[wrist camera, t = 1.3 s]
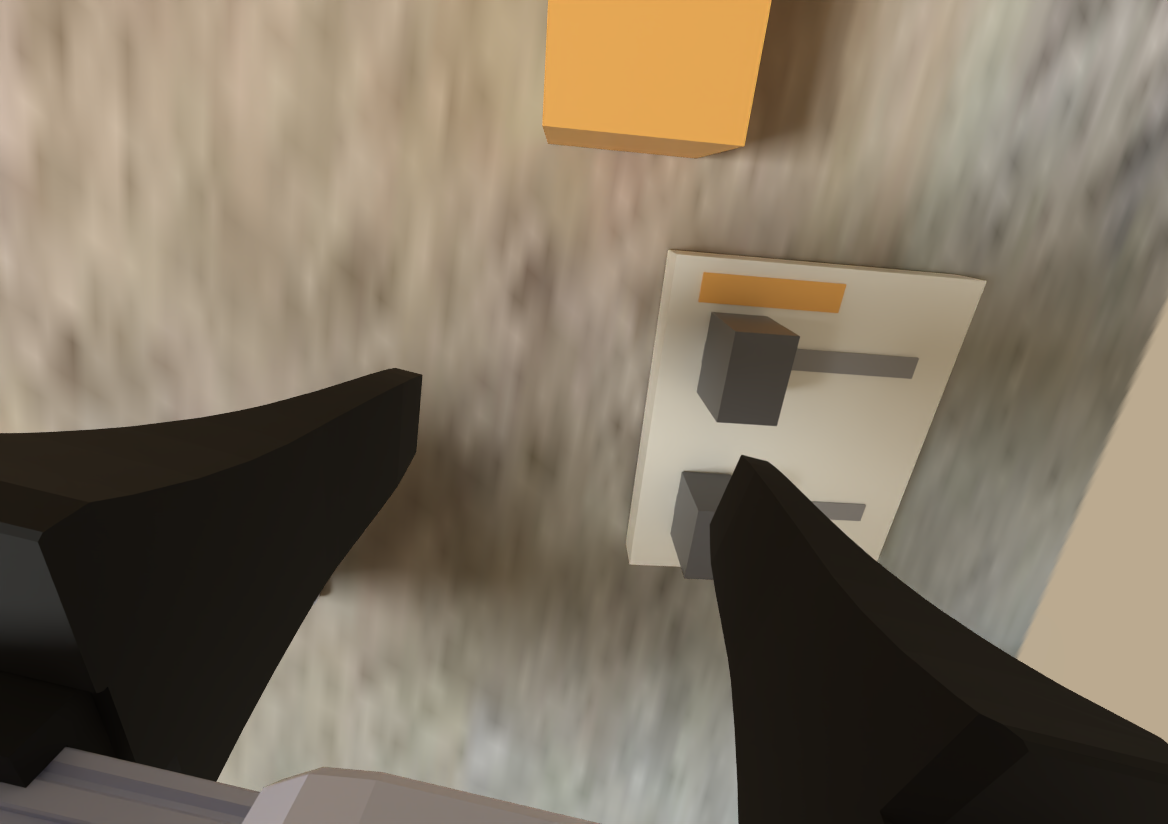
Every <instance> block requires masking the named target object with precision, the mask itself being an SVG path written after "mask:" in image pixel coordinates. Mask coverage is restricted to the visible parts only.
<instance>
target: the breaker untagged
mask: <svg viewBox="0 0 1168 824" xmlns="http://www.w3.org/2000/svg"><path fill="white" fill-rule="evenodd" d="M731 476H732V475H731V474H715V473H697V472H682V473H681V479H680V484H679V489H678V495H677V500H676V506H675V511H674V516H673V522H672V527H671V533H670V534H671V537H672V541H673V544H674V547H675V550H676V553H677V557H678V560H679V563H680V566H681V569H682V573H683V576H684V578H687V579H711V580H713V574H712V568H711V557H710V523H711V520H712V518H713V516H714V514H715V512H716V509H717V507H718V505H719V503H720V501H721V498H722V496H723V494H724V492H725V489H726V487H727V485H728V483H729V481H730V478H731Z"/></svg>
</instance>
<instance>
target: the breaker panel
mask: <svg viewBox="0 0 1168 824" xmlns="http://www.w3.org/2000/svg"><path fill="white" fill-rule="evenodd" d="M986 282H987V281H985V280H980V279H975V278H971V277H966V276H961V275H956V274H945V273H933V272H922V271H910V270H899V269H887V268H876V267H864V266H853V265H841V264H830V263H818V262H807V261H795V260H783V259H772V258H760V257H749V256H737V255H726V254H714V253H703V252H691V251H680V250H668V254H667V261H666V268H665V275H664V282H663V289H662V295H661V302H660V309H659V316H658V323H657V330H656V337H655V344H654V351H653V358H652V365H651V371H650V378H649V385H648V392H647V399H646V406H645V413H644V420H643V427H642V434H641V441H640V447H639V454H638V461H637V468H636V475H635V482H634V489H633V496H632V503H631V510H630V517H629V523H628V530H627V537H626V547H627V553H628V558H629V564H630V565H653V566H676V567H681V566H680V563H679V560H678V557H677V553H676V550H675V547H674V544H673V541H672V537H671V534H670V533H671V527H672V522H673V516H674V511H675V506H676V500H677V495H678V489H679V484H680V479H681V473H682V472H697V473H715V474H731V475H732V474H733V472H734V470H735V467H736V465H737V463H738V461H739V459H740V456H741V455H745V456H749V457H753V458H757V459H761V460H765V461H768V462H770V463H771V464H772V465H773V466H775V467H776V468H777V469H778V470H779V471H780V472H782V473H783V474H784V475H785V476H786V477H787V478H788V479H789V480H790V481H791V482H792V483H793V484H794V485H795V486H796V487H797V488H798V489H799V490H800V491H801V492H802V493H803V494H804V495H805V496H806V497H807V498H808V499H809V500H810V501H811V502H812V503H813V504H814V505H816V506H817V507H818V508H819V509H820V510H821V511H822V512H823V513H824V514H825V515H826V516H827V517H828V518H829V519H830V520H831V521H832V522H833V523H834V524H835V525H836V526H837V527H838V528H840V529H841V530H842V531H843V532H844V533H845V534H846V535H847V536H848V537H849V538H850V539H852V540H853V541H854V542H855V543H856V544H857V545H858V546H860V547H861V548H862V549H863V550H864V551H865V552H866V553H867V554H869V555H870V556H871V557H872V558H873V559H874V560H876V561H877V560H878V558H879V555H880V553H881V550H882V548H883V545H884V543H885V540H886V537H887V535H888V532H889V530H890V527H891V525H892V522H893V520H894V517H895V514H896V512H897V509H898V507H899V504H900V502H901V499H902V497H903V494H904V491H905V489H906V486H907V484H908V481H909V479H910V476H911V474H912V471H913V469H914V466H915V463H916V461H917V458H918V456H919V453H920V451H921V448H922V446H923V443H924V440H925V438H926V435H927V433H928V430H929V428H930V425H931V423H932V420H933V417H934V415H935V412H936V410H937V407H938V405H939V402H940V400H941V397H942V394H943V392H944V389H945V387H946V384H947V382H948V379H949V377H950V374H951V371H952V369H953V366H954V364H955V361H956V359H957V356H958V354H959V351H960V349H961V346H962V343H963V341H964V338H965V336H966V333H967V331H968V328H969V326H970V323H971V320H972V318H973V315H974V313H975V310H976V308H977V305H978V303H979V300H980V297H981V295H982V292H983V290H984V287H985V285H986ZM711 312H720V313H733V314H745V315H758V316H768V317H769V318H771V319H773V320H774V321H776V322H778V323H779V324H781V325H782V326H784V327H786V328H787V329H789V330H791V331H792V332H794V333H796V334H797V335H799V336H800V339H799V343H798V347H797V351H796V355H795V358H794V362H793V366H792V370H791V374H790V378H789V382H788V385H787V389H786V393H785V397H784V401H783V405H782V408H781V412H780V416H779V420H778V424H777V426H766V425H750V424H734V423H718V422H716V421H715V419H714V418H713V416H712V415H711V413H710V412H709V410H708V409H707V407H706V405H705V404H704V402H703V401H702V399H701V398H700V396H699V395H698V393H697V387H698V382H699V376H700V371H701V366H702V360H703V355H704V349H705V344H706V339H707V333H708V328H709V323H710V317H711Z"/></svg>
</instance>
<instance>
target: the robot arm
mask: <svg viewBox="0 0 1168 824" xmlns="http://www.w3.org/2000/svg"><path fill="white" fill-rule="evenodd" d="M421 386H422V375H421V374H417V373H413V372H409V371H405V370H401V369H397V368H393V369H388V370H384V371H380V372H376V373H373V374H370V375H366V376H363V377H360V378H357V379H354V380H351V381H347V382H344V383H341V384H338V385H335V386H331V387H328V388H325V389H322V390H319V391H315V392H312V393H308V394H304V395H300V396H297V397H293V398H289V399H286V400H282V401H278V402H275V403H271V404H267V405H263V406H259V407H254V408H249V409H245V410H240V411H235V412H230V413H224V414H219V415H213V416H208V417H202V418H195V419H187V420H179V421H172V422H164V423H156V424H148V425H140V426H131V427H120V428H107V429H95V430H79V431H61V432H40V433H0V824H600V823H595V822H591V821H587V820H583V819H578V818H574V817H570V816H566V815H561V814H557V813H553V812H549V811H544V810H540V809H536V808H532V807H527V806H523V805H519V804H515V803H511V802H506V801H502V800H498V799H494V798H489V797H485V796H481V795H477V794H472V793H468V792H464V791H460V790H455V789H451V788H447V787H443V786H438V785H434V784H430V783H426V782H421V781H417V780H413V779H409V778H405V777H400V776H396V775H392V774H388V773H383V772H374V771H363V770H352V769H341V768H330V767H321V768H318V769H315V770H311V771H308V772H305V773H302V774H298V775H295V776H292V777H289V778H285V779H282V780H280V781H278V782H275V783H273V784H271V785H268V786H266V787H264V788H263V789H262V790H261V792H257V791H253V790H249V789H245V788H240V787H236V786H232V785H227V784H223V783H219V782H216V781H217V779H218V777H219V775H220V773H221V771H222V769H223V768H224V766H225V764H226V762H227V760H228V758H229V756H230V754H231V752H232V750H233V748H234V746H235V744H236V742H237V740H238V738H239V736H240V734H241V732H242V730H243V728H244V727H245V725H246V723H247V721H248V719H249V717H250V715H251V714H252V712H253V710H254V708H255V706H256V704H257V702H258V701H259V699H260V697H261V695H262V693H263V691H264V690H265V688H266V686H267V684H268V682H269V680H270V678H271V677H272V675H273V673H274V671H275V669H276V668H277V666H278V664H279V662H280V661H281V659H282V657H283V655H284V654H285V652H286V650H287V648H288V647H289V645H290V643H291V641H292V640H293V638H294V636H295V634H296V633H297V631H298V629H299V627H300V626H301V624H302V622H303V620H304V619H305V617H306V615H307V614H308V612H309V610H310V609H311V607H312V606H313V604H315V603H316V601H317V600H318V598H319V596H320V592H321V591H322V589H323V587H324V586H325V584H326V582H327V581H328V579H329V578H330V576H331V575H332V574H333V572H334V571H335V569H336V568H337V566H338V565H339V563H340V562H341V561H342V559H343V558H344V557H345V556H346V554H347V553H348V552H349V550H350V549H351V548H352V546H353V545H354V544H355V542H356V541H357V540H358V538H359V537H360V536H361V534H362V533H363V532H364V530H365V529H366V528H367V527H368V525H369V524H370V523H371V521H372V520H373V519H374V517H375V516H376V515H377V513H378V512H379V511H380V509H381V508H382V507H383V505H384V504H385V503H386V501H387V500H388V499H389V497H390V496H391V495H392V493H393V492H394V490H395V489H396V488H397V486H398V484H399V483H400V481H401V479H402V477H403V476H404V474H405V472H406V470H407V468H408V466H409V465H410V463H411V461H412V459H413V457H414V455H415V453H416V447H417V435H418V423H419V411H420V398H421ZM710 557H711V568H712V574H713V580H714V586H715V591H716V597H717V602H718V608H719V613H720V618H721V624H722V629H723V634H724V640H725V645H726V650H727V656H728V662H729V669H730V677H731V687H732V700H733V713H734V726H735V744H736V763H737V783H738V822H739V824H1168V744H1167V743H1166V742H1165V741H1164V740H1163V739H1161V738H1160V737H1158V736H1156V735H1154V734H1152V733H1151V732H1149V731H1147V730H1145V729H1143V728H1141V727H1139V726H1137V725H1135V724H1133V723H1132V722H1130V721H1128V720H1125V719H1124V718H1122V717H1120V716H1118V715H1116V714H1114V713H1113V712H1111V711H1109V710H1107V709H1105V708H1103V707H1101V706H1099V705H1097V704H1095V703H1093V702H1092V701H1090V700H1088V699H1086V698H1084V697H1082V696H1080V695H1078V694H1076V693H1075V692H1073V691H1071V690H1069V689H1067V688H1065V687H1064V686H1061V685H1060V684H1058V683H1056V682H1055V681H1053V680H1051V679H1050V678H1048V677H1046V676H1044V675H1043V674H1041V673H1039V672H1038V671H1036V670H1034V669H1033V668H1030V667H1029V666H1027V665H1026V664H1024V663H1022V662H1021V661H1019V660H1017V659H1015V658H1014V657H1012V656H1010V655H1009V654H1007V653H1006V652H1004V651H1002V650H1001V649H999V648H998V647H996V646H994V645H993V644H991V643H990V642H988V641H986V640H985V639H983V638H982V637H980V636H978V635H977V634H975V633H974V632H972V631H971V630H969V629H968V628H967V627H965V626H964V625H962V624H961V623H959V622H958V621H956V620H955V619H953V618H952V617H950V616H949V615H947V614H946V613H944V612H943V611H941V610H940V609H938V608H937V607H936V606H934V605H933V604H931V603H930V602H929V601H927V600H926V599H924V598H923V597H922V596H920V595H919V594H918V593H916V592H915V591H914V590H912V589H911V588H910V587H909V586H907V585H906V584H905V583H903V582H902V581H901V580H899V579H898V578H897V577H896V576H894V575H893V574H892V573H890V572H889V571H888V570H887V569H885V568H884V567H883V566H882V565H880V564H879V563H878V562H877V561H876V560H874V559H873V558H872V557H871V556H870V555H869V554H867V553H866V552H865V551H864V550H863V549H862V548H861V547H860V546H858V545H857V544H856V543H855V542H854V541H853V540H852V539H850V538H849V537H848V536H847V535H846V534H845V533H844V532H843V531H842V530H841V529H840V528H838V527H837V526H836V525H835V524H834V523H833V522H832V521H831V520H830V519H829V518H828V517H827V516H826V515H825V514H824V513H823V512H822V511H821V510H820V509H819V508H818V507H817V506H816V505H814V504H813V503H812V502H811V501H810V500H809V499H808V498H807V497H806V496H805V495H804V494H803V493H802V492H801V491H800V490H799V489H798V488H797V487H796V486H795V485H794V484H793V483H792V482H791V481H790V480H789V479H788V478H787V477H786V476H785V475H784V474H783V473H782V472H780V471H779V470H778V469H777V468H776V467H775V466H773V465H772V464H771V463H770V462H768V461H765V460H761V459H757V458H753V457H749V456H745V455H741V456H740V459H739V461H738V463H737V465H736V467H735V470H734V472H733V474H732V476H731V478H730V481H729V483H728V485H727V487H726V489H725V492H724V494H723V496H722V498H721V501H720V503H719V505H718V507H717V509H716V512H715V514H714V516H713V518H712V520H711V523H710Z"/></svg>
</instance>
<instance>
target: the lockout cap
mask: <svg viewBox="0 0 1168 824" xmlns="http://www.w3.org/2000/svg"><path fill="white" fill-rule="evenodd" d="M771 1H772V0H548V18H547V39H546V61H545V82H544V104H543V125H542V126H543V129H544V132H545V135H546V138H547V142H548V144H556V145H566V146H576V147H586V148H596V149H607V150H617V151H627V152H637V153H647V154H657V155H667V156H677V157H687V158H700V157H704V156H708V155H712V154H716V153H720V152H724V151H727V150H731V149H735V148H739V147H743V146H744V145H745V140H746V135H747V129H748V124H749V119H750V113H751V108H752V103H753V97H754V92H755V87H756V81H757V76H758V71H759V65H760V60H761V55H762V49H763V44H764V38H765V33H766V28H767V22H768V17H769V12H770V6H771Z"/></svg>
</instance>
